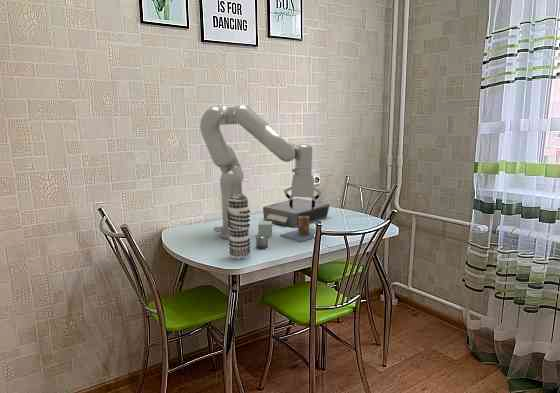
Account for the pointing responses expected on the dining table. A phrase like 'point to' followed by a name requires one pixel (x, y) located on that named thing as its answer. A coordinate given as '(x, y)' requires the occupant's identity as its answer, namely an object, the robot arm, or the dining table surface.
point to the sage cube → (265, 228)
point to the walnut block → (303, 225)
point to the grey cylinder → (261, 241)
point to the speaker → (295, 212)
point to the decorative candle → (239, 226)
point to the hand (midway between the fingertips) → (302, 208)
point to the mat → (299, 238)
